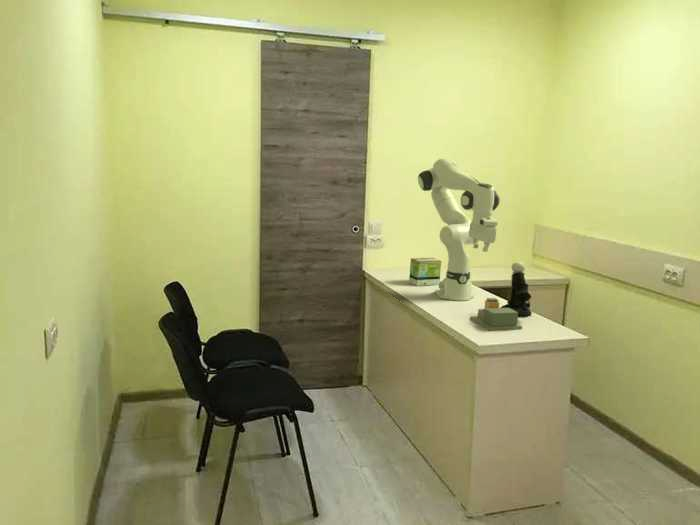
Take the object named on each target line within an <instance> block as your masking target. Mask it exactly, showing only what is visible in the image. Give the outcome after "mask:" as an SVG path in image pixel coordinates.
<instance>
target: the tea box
mask: <svg viewBox="0 0 700 525" xmlns="http://www.w3.org/2000/svg"><path fill="white" fill-rule="evenodd" d="M441 266H442V260H441V259H437V258H435V257H412V258H410V266H409V278H408V283H409V284H412V285H414V286H416V287H422V286H439V284H440V283H441V281H440V280H441V268H442V267H441Z"/></svg>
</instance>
